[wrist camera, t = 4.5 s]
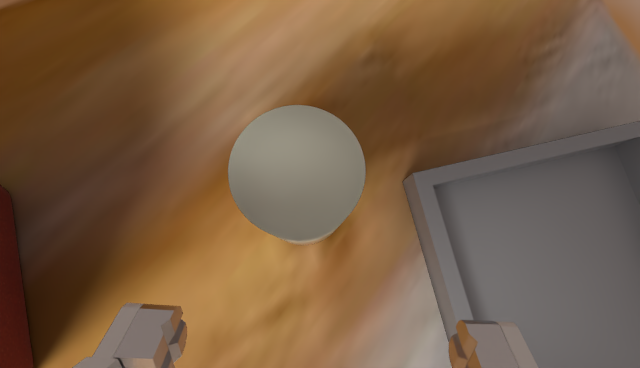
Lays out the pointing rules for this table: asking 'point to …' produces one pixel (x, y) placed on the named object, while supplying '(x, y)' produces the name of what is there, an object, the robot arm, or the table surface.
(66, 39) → the table surface
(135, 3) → the table surface
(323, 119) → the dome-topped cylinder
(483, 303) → the grey tray
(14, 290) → the plant pot
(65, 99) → the table surface
